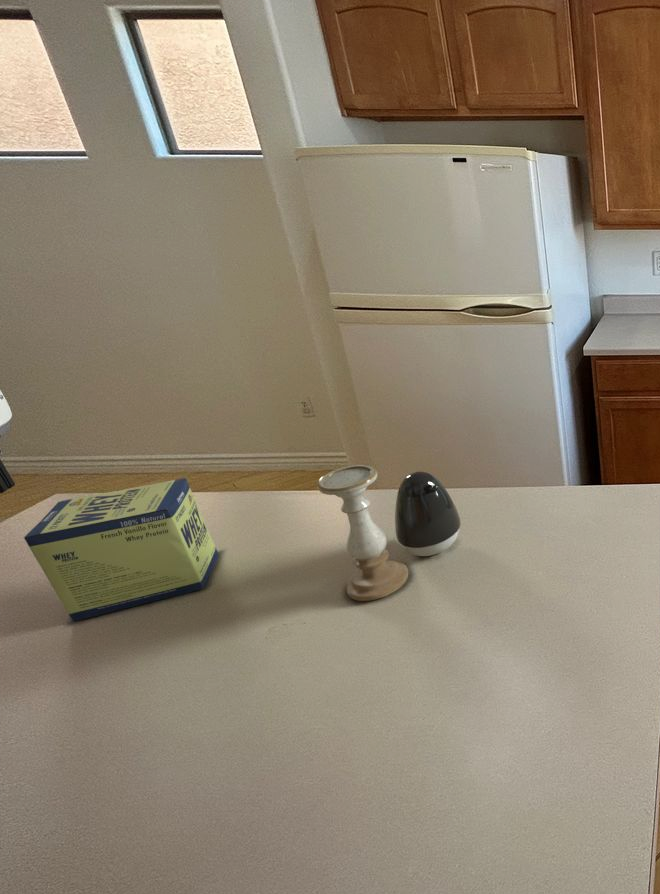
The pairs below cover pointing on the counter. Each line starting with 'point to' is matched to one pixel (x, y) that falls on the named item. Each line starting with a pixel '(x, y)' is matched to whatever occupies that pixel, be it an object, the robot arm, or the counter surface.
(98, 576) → the protein box
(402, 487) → the dark grey egg shape
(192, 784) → the counter surface
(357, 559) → the candle holder
